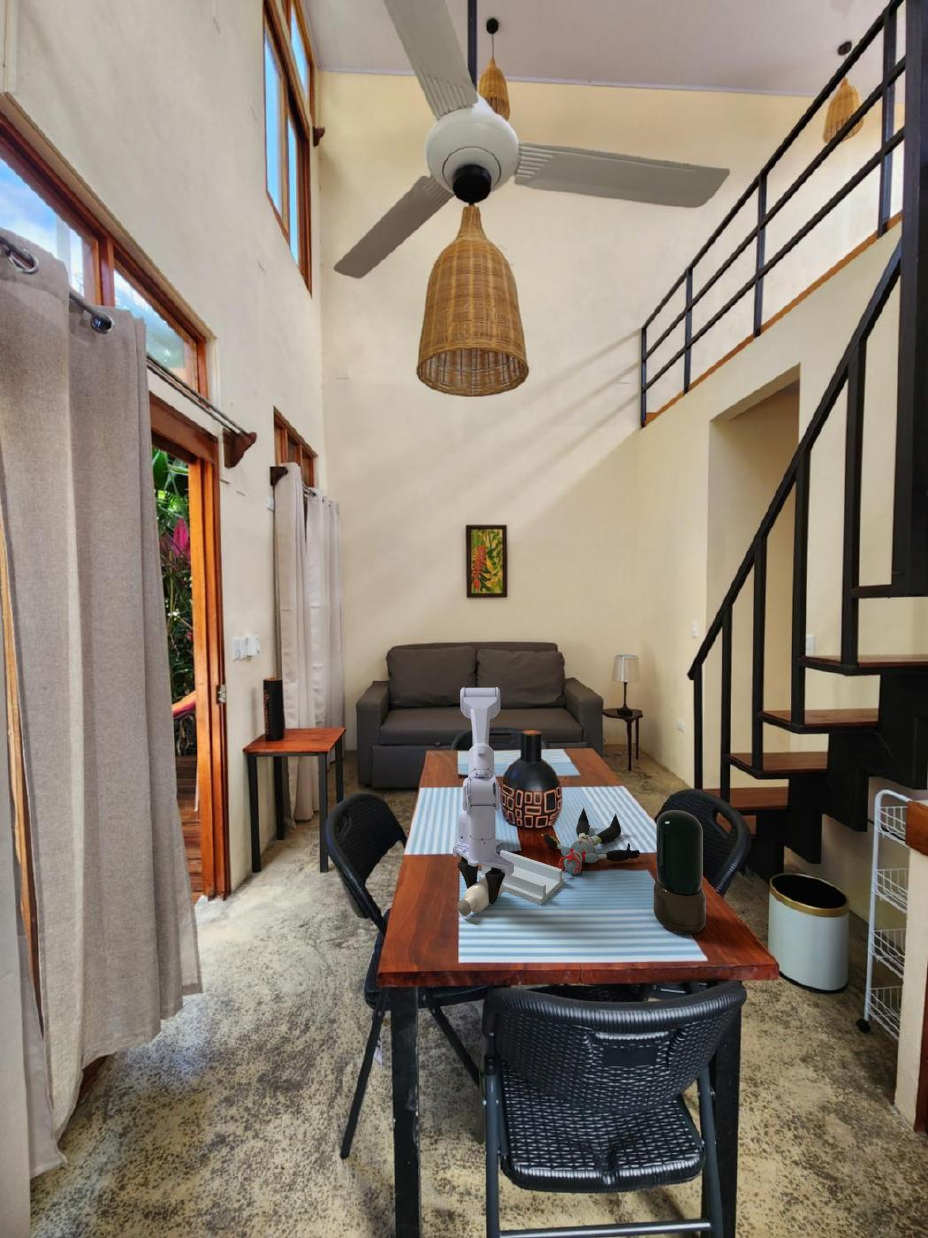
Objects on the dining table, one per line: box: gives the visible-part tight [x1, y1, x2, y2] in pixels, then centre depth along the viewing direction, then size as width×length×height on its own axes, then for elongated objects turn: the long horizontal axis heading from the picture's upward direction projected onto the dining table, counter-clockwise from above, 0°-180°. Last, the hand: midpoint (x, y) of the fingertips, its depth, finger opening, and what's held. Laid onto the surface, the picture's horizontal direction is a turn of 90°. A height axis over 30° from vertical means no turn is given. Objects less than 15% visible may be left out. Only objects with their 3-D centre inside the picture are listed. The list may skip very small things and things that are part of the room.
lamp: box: [653, 809, 707, 935], centre depth 102 cm, size 10×10×22 cm
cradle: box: [478, 849, 565, 906], centre depth 118 cm, size 16×11×4 cm
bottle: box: [456, 877, 505, 917], centre depth 108 cm, size 11×5×5 cm, turn 143°
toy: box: [540, 807, 641, 877], centre depth 131 cm, size 26×8×30 cm
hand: (482, 898), depth 109 cm, fingers closed on bottle, 5 cm apart
